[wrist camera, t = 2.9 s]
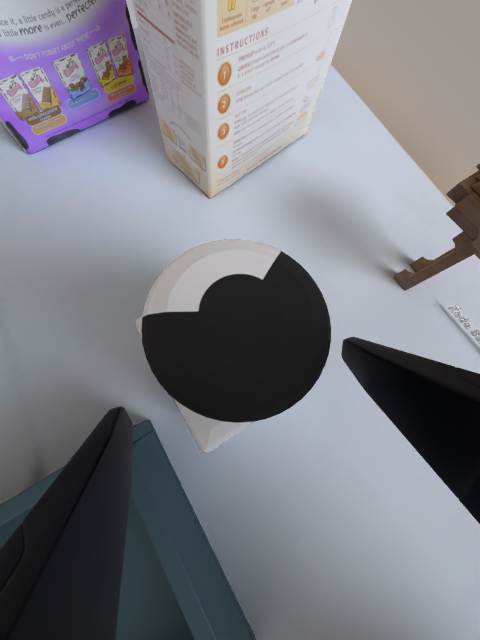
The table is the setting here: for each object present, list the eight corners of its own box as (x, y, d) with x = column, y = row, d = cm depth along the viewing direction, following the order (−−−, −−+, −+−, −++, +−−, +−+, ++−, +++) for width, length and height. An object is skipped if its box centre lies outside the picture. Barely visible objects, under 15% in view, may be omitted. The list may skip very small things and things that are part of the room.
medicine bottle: (288, 376, 18) (408, 354, 7) (208, 430, 17) (192, 520, 5) (240, 302, 20) (273, 182, 8) (162, 346, 18) (69, 269, 7)
